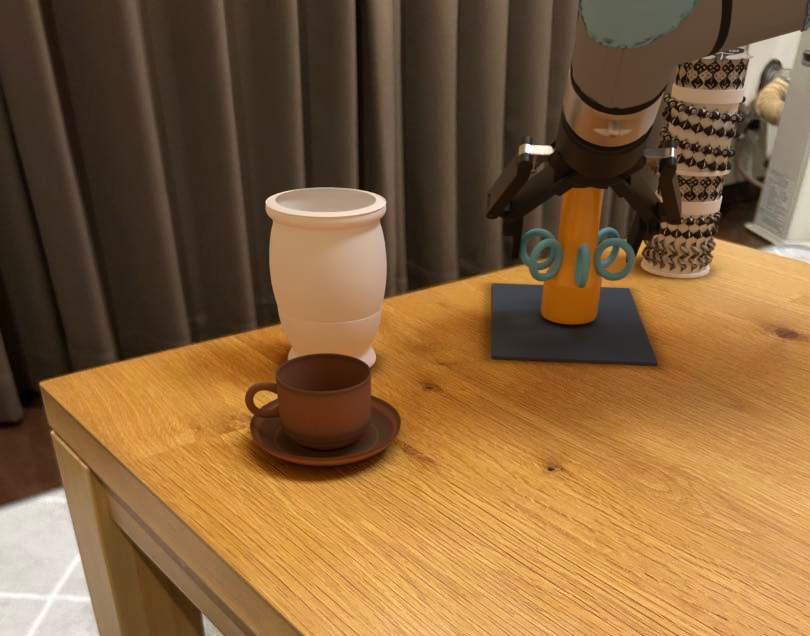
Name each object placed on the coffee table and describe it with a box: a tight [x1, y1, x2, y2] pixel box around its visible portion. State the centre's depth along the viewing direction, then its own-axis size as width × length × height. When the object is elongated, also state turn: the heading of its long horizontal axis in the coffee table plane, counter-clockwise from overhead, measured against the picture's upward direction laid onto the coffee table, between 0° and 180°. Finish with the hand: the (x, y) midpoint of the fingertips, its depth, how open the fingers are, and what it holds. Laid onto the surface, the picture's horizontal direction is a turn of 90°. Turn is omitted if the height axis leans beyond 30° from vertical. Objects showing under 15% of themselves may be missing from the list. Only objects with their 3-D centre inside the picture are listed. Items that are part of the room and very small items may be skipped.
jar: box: [265, 187, 388, 368], centre depth 79 cm, size 11×10×15 cm
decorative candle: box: [640, 45, 754, 279], centre depth 102 cm, size 9×9×25 cm
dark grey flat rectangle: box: [490, 282, 659, 367], centre depth 93 cm, size 22×16×1 cm
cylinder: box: [519, 187, 636, 325], centre depth 88 cm, size 12×10×15 cm
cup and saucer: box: [244, 353, 402, 467], centre depth 68 cm, size 12×12×6 cm
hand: (572, 249), depth 91 cm, fingers closed on cylinder, 11 cm apart
